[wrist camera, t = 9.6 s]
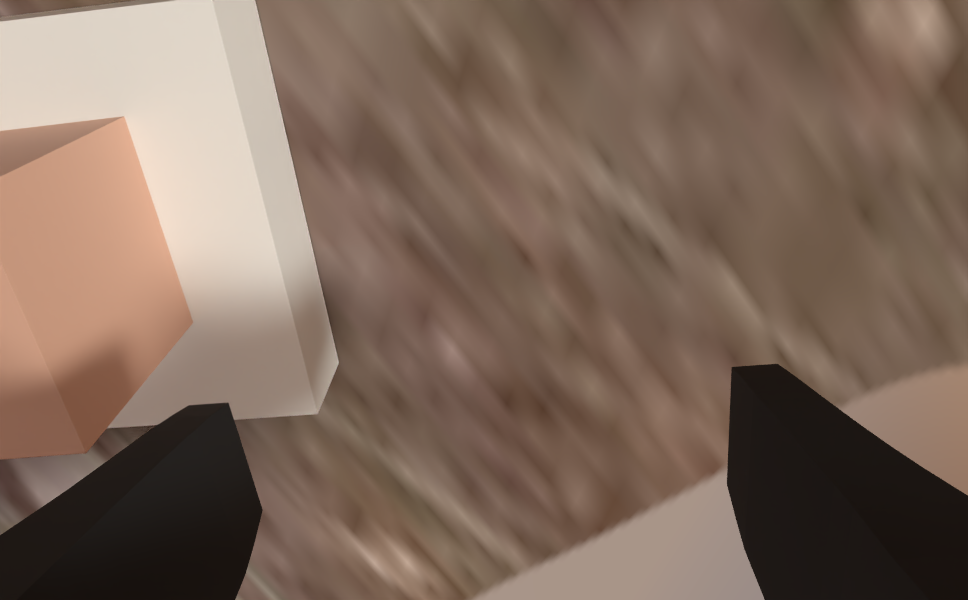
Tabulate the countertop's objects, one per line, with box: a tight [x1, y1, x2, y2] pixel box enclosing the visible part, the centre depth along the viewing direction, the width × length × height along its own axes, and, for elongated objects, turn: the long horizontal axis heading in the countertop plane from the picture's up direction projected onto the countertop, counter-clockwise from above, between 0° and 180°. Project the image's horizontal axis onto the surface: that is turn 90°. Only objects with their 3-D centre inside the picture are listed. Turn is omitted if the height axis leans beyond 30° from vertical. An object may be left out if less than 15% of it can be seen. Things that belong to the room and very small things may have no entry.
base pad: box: [0, 0, 339, 428], centre depth 19 cm, size 10×10×2 cm
